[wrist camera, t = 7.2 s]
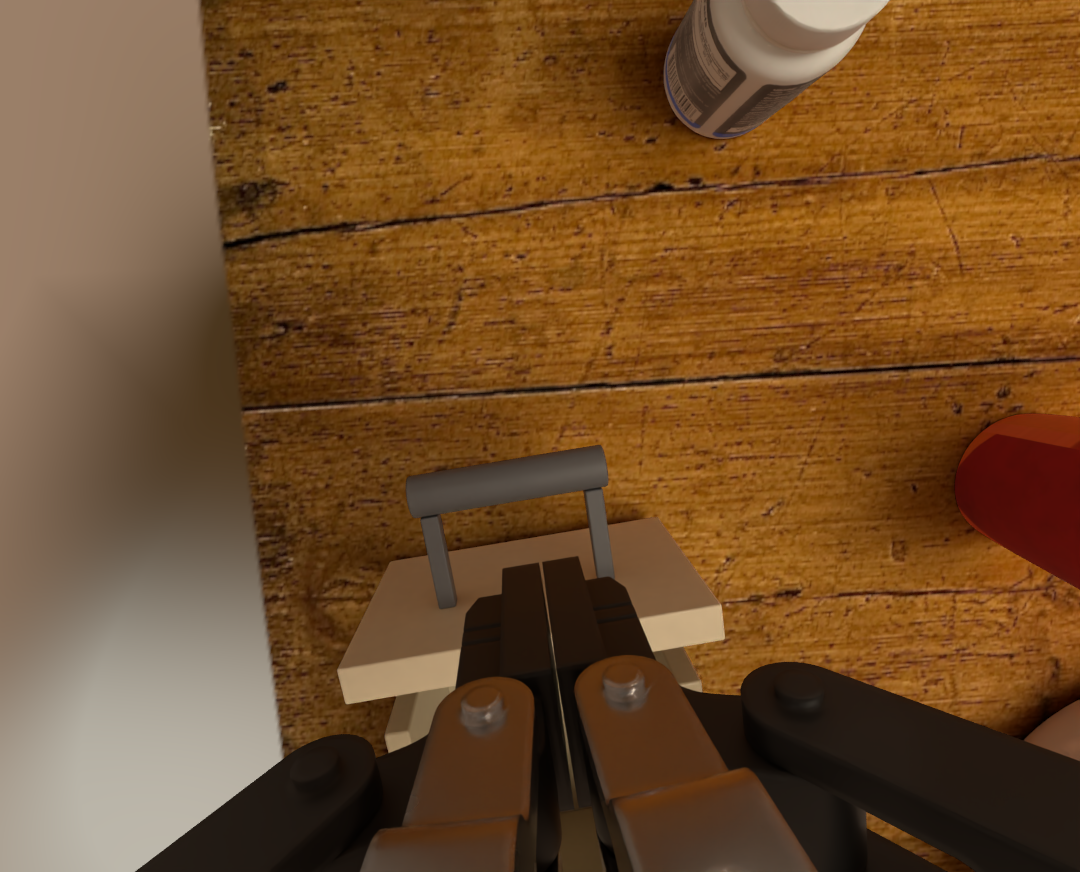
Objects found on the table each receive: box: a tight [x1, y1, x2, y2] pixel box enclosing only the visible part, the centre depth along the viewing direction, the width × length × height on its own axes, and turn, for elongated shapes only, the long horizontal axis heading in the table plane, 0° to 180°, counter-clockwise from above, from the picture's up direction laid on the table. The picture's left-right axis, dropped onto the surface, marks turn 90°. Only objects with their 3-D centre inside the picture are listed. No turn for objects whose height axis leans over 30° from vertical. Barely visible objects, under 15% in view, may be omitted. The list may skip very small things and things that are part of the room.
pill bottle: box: [664, 0, 890, 139], centre depth 19 cm, size 5×5×8 cm
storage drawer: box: [337, 445, 725, 872], centre depth 22 cm, size 18×12×8 cm, turn 9°
